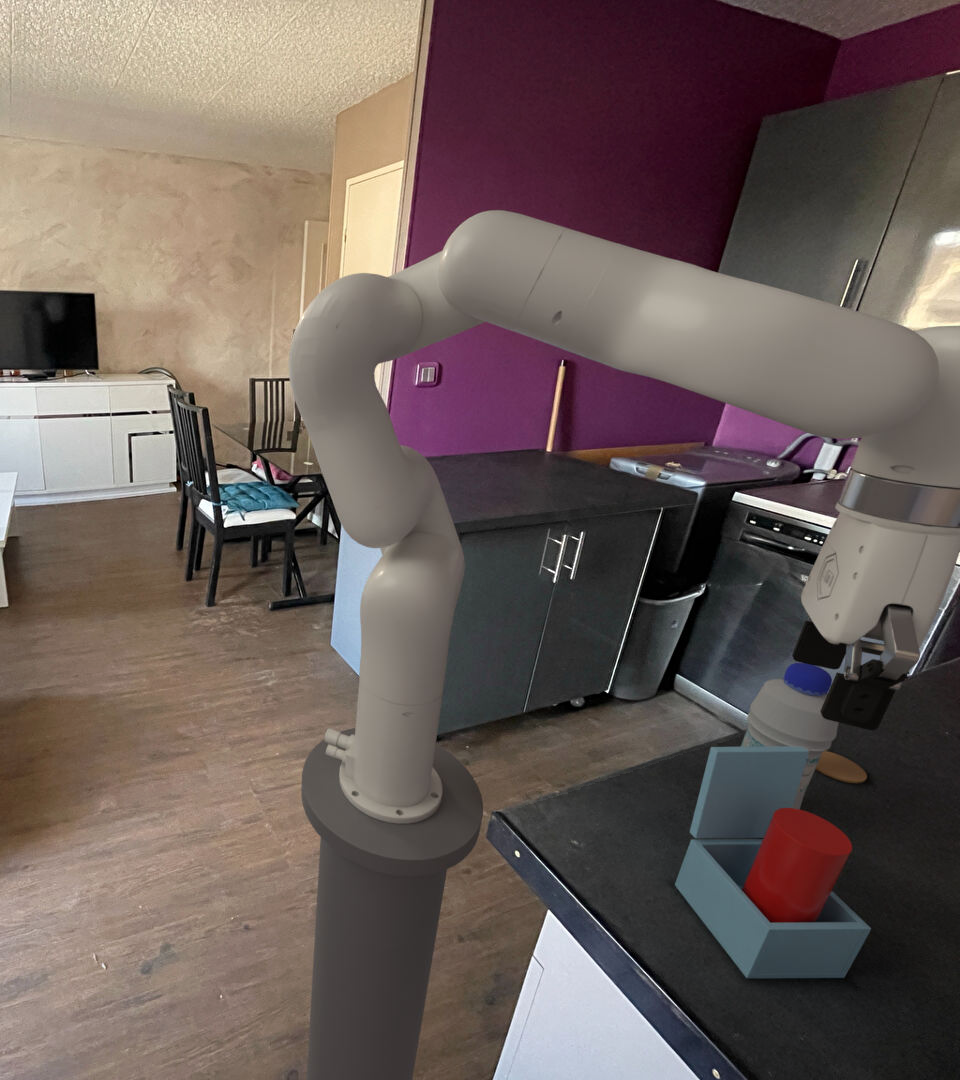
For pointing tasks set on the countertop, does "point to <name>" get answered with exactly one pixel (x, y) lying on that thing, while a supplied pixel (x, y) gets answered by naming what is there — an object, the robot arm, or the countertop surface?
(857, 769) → the coaster
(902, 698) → the countertop surface
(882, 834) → the countertop surface
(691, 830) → the cooler lid
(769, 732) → the bottle
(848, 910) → the box
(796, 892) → the can
